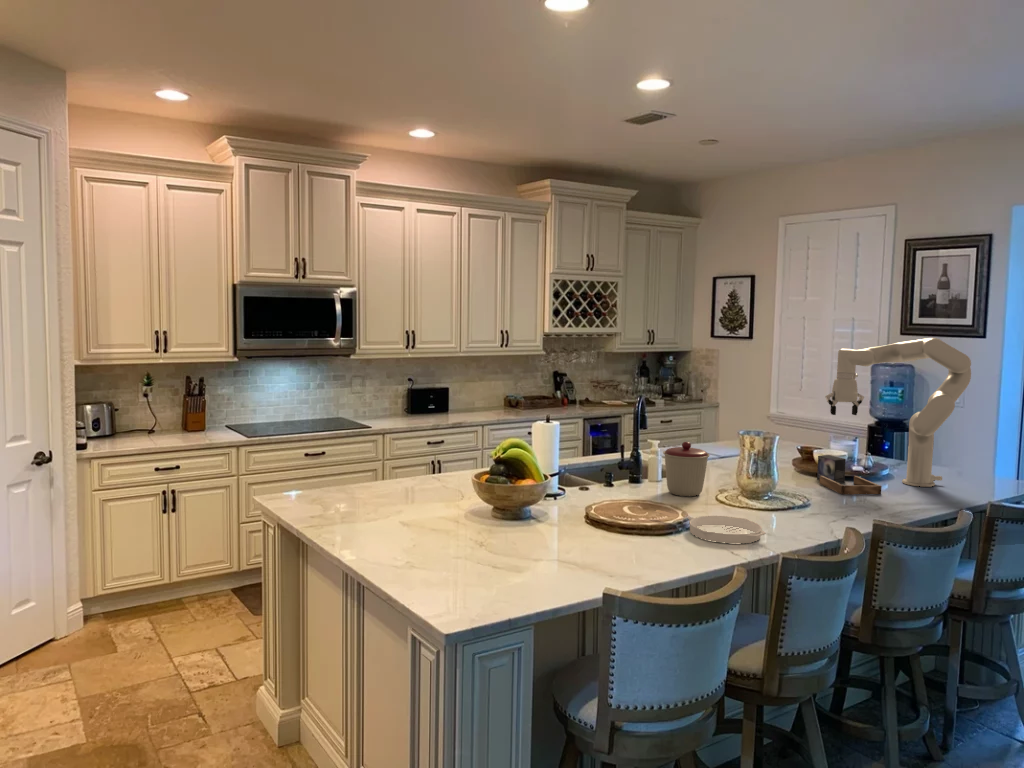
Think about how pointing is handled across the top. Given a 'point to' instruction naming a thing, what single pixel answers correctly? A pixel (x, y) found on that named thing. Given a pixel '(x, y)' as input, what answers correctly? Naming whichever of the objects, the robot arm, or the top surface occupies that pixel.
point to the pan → (727, 522)
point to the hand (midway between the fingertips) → (843, 414)
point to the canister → (685, 469)
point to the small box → (831, 468)
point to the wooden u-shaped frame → (852, 486)
